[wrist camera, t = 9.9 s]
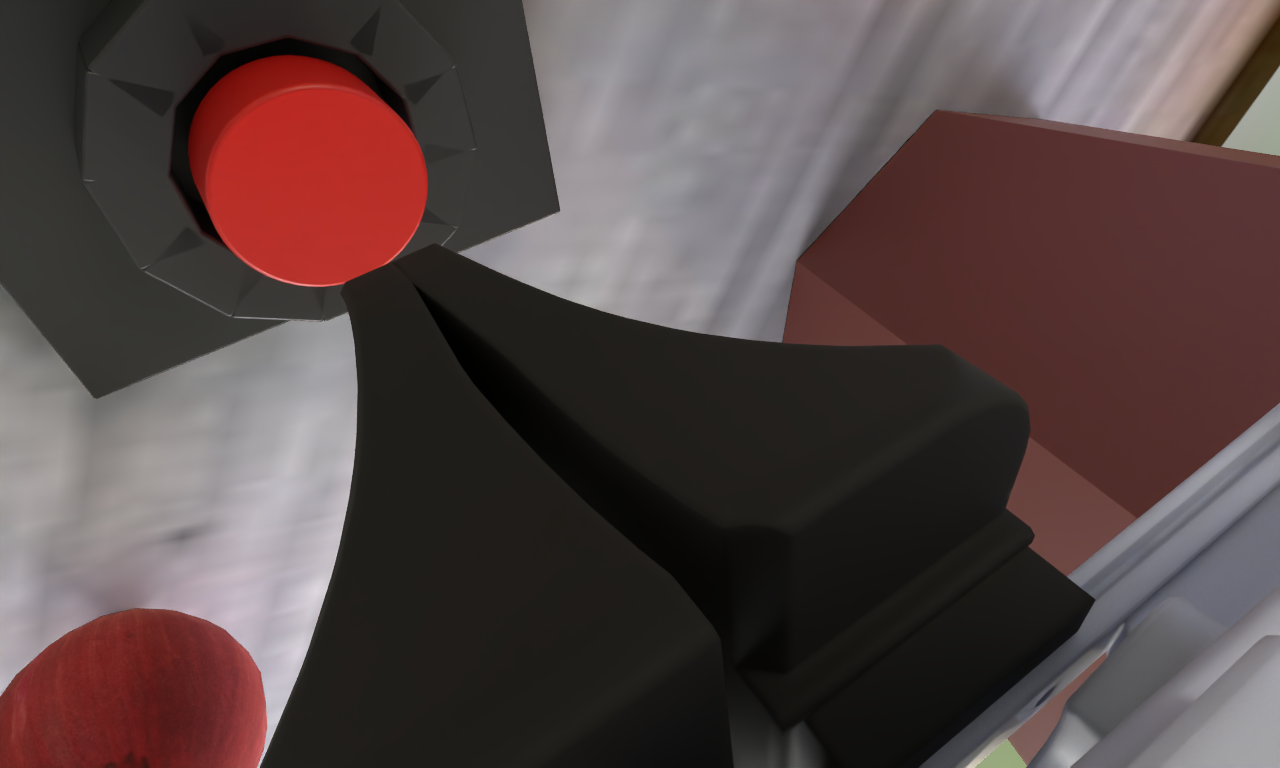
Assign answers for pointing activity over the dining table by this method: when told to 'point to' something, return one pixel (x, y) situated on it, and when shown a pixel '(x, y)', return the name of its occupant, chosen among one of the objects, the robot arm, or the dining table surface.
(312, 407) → the dining table surface
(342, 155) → the button
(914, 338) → the bucket
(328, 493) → the dining table surface
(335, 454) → the dining table surface
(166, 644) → the onion
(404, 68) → the button housing
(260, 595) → the dining table surface
